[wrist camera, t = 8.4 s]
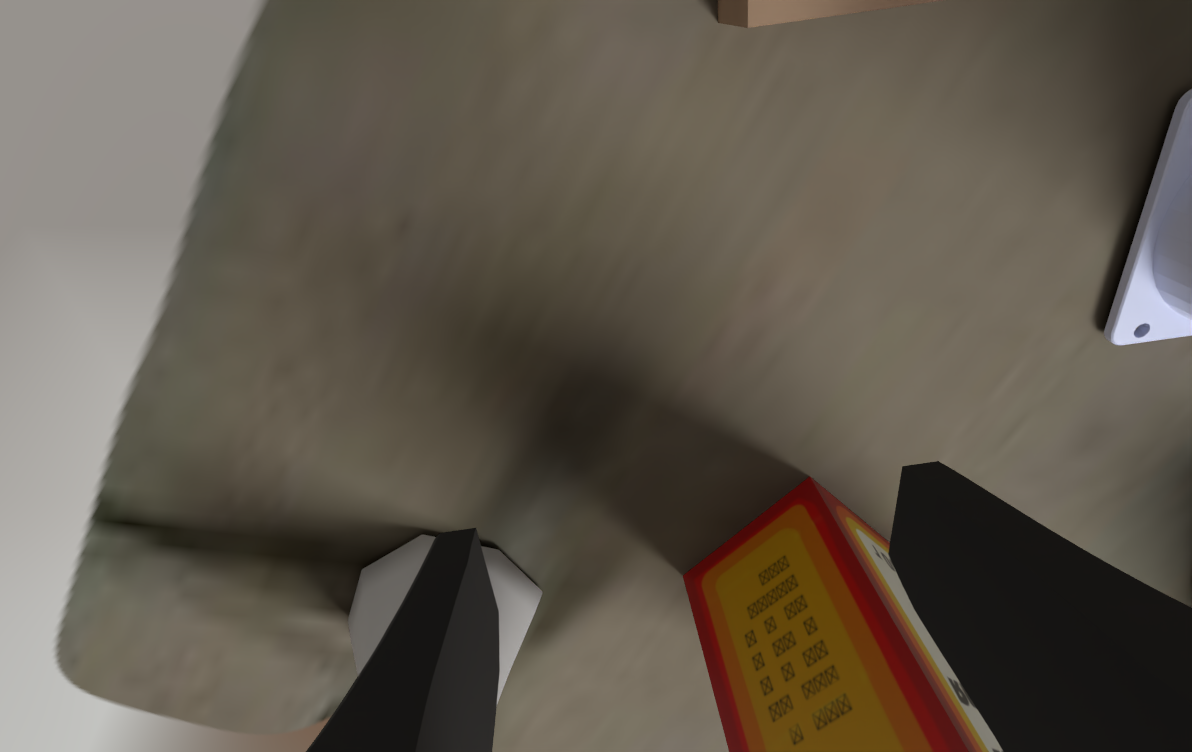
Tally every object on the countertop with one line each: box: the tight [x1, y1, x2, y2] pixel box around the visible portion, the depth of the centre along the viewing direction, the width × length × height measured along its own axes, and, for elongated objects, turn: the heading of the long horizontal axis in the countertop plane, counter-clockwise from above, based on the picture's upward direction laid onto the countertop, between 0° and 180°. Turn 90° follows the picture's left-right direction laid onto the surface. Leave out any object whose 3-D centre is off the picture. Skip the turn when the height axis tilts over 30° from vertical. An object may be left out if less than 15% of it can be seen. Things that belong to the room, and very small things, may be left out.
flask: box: [348, 534, 543, 706], centre depth 22 cm, size 7×7×10 cm
